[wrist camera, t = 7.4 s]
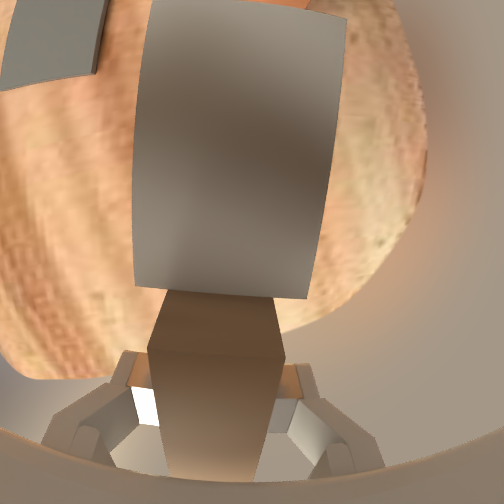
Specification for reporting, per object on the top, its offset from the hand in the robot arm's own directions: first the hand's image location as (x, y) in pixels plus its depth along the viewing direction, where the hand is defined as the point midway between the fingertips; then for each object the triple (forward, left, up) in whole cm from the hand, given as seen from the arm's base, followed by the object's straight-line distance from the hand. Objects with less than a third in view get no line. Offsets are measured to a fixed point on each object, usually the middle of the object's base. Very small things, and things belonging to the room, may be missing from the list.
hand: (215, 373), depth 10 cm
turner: (-3, 0, -1) cm, 3 cm away
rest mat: (-22, -16, -15) cm, 31 cm away
